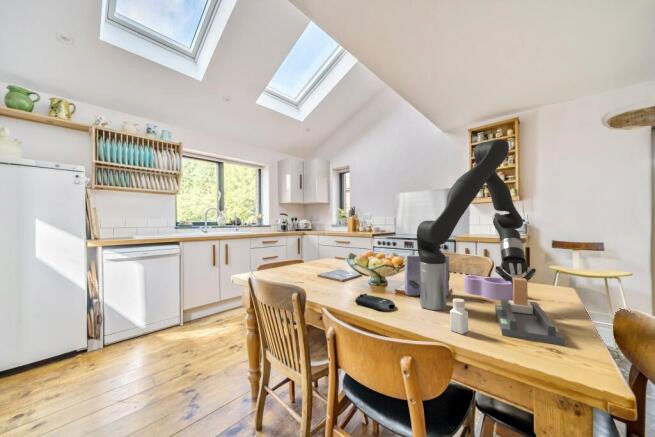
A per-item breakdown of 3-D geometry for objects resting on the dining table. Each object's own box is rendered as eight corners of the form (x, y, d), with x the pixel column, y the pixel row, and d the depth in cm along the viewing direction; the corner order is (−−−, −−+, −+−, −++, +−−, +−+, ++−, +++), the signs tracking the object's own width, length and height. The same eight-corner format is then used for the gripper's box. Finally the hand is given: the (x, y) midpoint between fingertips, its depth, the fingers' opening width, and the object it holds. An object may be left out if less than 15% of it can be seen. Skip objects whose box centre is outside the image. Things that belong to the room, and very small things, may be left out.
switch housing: (494, 310, 95) (494, 297, 95) (543, 316, 89) (543, 303, 89) (502, 335, 76) (502, 319, 76) (565, 345, 69) (564, 328, 69)
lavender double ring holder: (461, 294, 115) (461, 278, 115) (469, 288, 124) (469, 273, 124) (516, 304, 102) (516, 286, 102) (521, 296, 111) (520, 280, 111)
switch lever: (508, 306, 92) (508, 276, 92) (529, 309, 89) (529, 278, 89) (510, 311, 88) (510, 279, 88) (533, 314, 85) (532, 281, 85)
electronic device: (354, 309, 104) (387, 312, 94) (353, 295, 105) (386, 297, 95) (366, 306, 111) (399, 309, 101) (366, 292, 112) (398, 294, 102)
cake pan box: (448, 293, 117) (447, 254, 117) (452, 296, 112) (451, 255, 112) (404, 292, 119) (403, 254, 118) (406, 296, 114) (406, 256, 113)
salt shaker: (462, 335, 77) (461, 303, 76) (449, 330, 80) (448, 299, 80) (469, 331, 79) (468, 300, 79) (456, 327, 82) (455, 297, 82)
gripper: (492, 245, 103) (496, 283, 93) (534, 246, 97) (543, 287, 86) (491, 256, 108) (495, 294, 97) (531, 258, 102) (539, 299, 91)
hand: (518, 291), depth 92 cm, fingers closed
